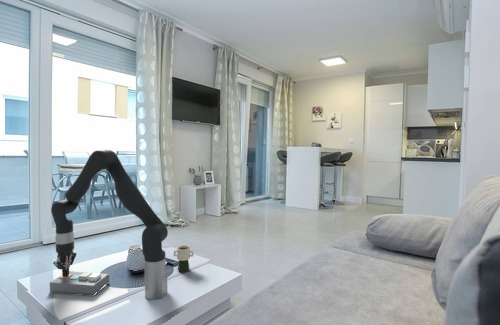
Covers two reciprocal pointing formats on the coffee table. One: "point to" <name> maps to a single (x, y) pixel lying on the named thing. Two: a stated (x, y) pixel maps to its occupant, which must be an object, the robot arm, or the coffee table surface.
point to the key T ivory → (94, 277)
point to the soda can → (134, 248)
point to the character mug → (183, 257)
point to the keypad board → (78, 285)
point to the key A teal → (74, 277)
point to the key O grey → (84, 276)
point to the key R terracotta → (66, 277)
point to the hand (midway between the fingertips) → (65, 275)
